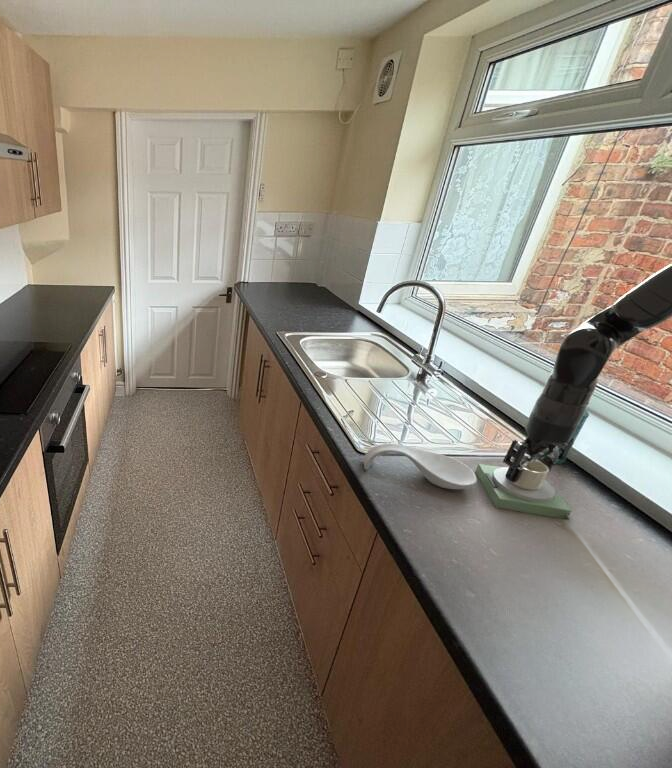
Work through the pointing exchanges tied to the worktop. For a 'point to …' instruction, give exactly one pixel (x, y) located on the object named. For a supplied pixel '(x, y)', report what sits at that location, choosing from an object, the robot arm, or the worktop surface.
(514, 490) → the scale
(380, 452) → the spoon rest
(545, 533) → the worktop surface
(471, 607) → the worktop surface
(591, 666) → the worktop surface
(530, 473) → the bowl
